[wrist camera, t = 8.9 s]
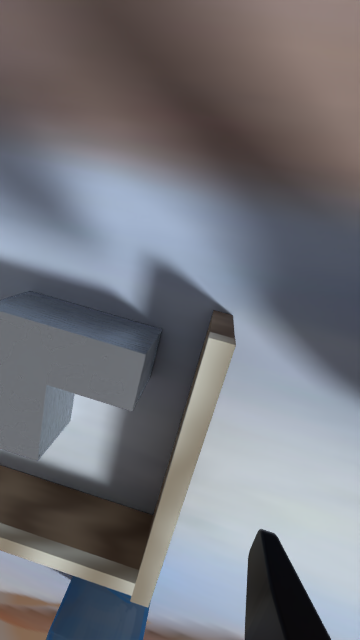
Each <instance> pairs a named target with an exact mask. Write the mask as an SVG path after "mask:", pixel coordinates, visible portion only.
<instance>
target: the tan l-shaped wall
mask: <svg viewBox="0 0 360 640" xmlns="http://www.w3.org/2000/svg"><path fill="white" fill-rule="evenodd" d="M235 346H236V342H235V335H234V322H233V315H229V314H226V313H222V312H219V311H215V310H213V314H212V317H211V320H210V324H209V327H208V331H207V334H206V337H205V341H204V344H203V348H202V351H201V354H200V358H199V361H198V365H197V368H196V371H195V375H194V378H193V381H192V385H191V388H190V392H189V395H188V398H187V402H186V405H185V409H184V412H183V415H182V419H181V422H180V426H179V429H178V432H177V436H176V439H175V443H174V446H173V449H172V453H171V456H170V460H169V463H168V466H167V470H166V473H165V477H164V480H163V483H162V487H161V490H160V493H159V497H158V500H157V504H156V507H155V510H154V514H153V515H151V514H148V513H144V512H141V511H138V510H135V509H132V508H129V507H126V506H123V505H120V504H117V503H114V502H111V501H108V500H105V499H102V498H99V497H96V496H93V495H90V494H86V493H83V492H80V491H77V490H74V489H71V488H68V487H65V486H62V485H59V484H56V483H53V482H50V481H47V480H44V479H41V478H38V477H35V476H32V475H28V474H25V473H22V472H19V471H16V470H13V469H10V468H7V467H4V466H1V465H0V550H1V551H4V552H7V553H10V554H12V555H15V556H18V557H21V558H24V559H27V560H30V561H33V562H36V563H38V564H41V565H44V566H47V567H50V568H53V569H56V570H59V571H61V572H64V573H67V574H70V575H73V576H76V577H79V578H82V579H84V580H87V581H90V582H93V583H96V584H99V585H102V586H105V587H107V588H110V589H113V590H116V591H119V592H122V593H125V594H128V595H130V596H131V600H130V602H133V603H136V604H139V605H142V606H145V607H147V608H148V607H149V604H150V601H151V598H152V595H153V592H154V589H155V586H156V583H157V580H158V577H159V574H160V571H161V568H162V565H163V562H164V559H165V556H166V553H167V550H168V547H169V544H170V541H171V538H172V535H173V532H174V529H175V526H176V523H177V520H178V517H179V514H180V511H181V508H182V505H183V502H184V499H185V496H186V493H187V490H188V487H189V484H190V481H191V478H192V475H193V472H194V469H195V466H196V463H197V460H198V457H199V454H200V451H201V448H202V445H203V442H204V439H205V436H206V433H207V430H208V427H209V424H210V421H211V418H212V415H213V412H214V409H215V406H216V403H217V400H218V397H219V394H220V391H221V388H222V385H223V382H224V379H225V376H226V373H227V370H228V367H229V364H230V361H231V358H232V355H233V352H234V349H235Z"/></svg>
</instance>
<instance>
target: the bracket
mask: <svg viewBox="0 0 360 640" xmlns="http://www.w3.org/2000/svg"><path fill="white" fill-rule="evenodd" d="M161 331H162V329H160V328H156V327H153V326H149V325H146V324H142V323H139V322H135V321H132V320H129V319H125V318H122V317H118V316H115V315H111V314H108V313H104V312H101V311H98V310H94V309H91V308H87V307H84V306H80V305H77V304H73V303H70V302H67V301H63V300H60V299H56V298H53V297H49V296H46V295H43V294H39V293H36V292H32V291H28V292H24V293H21V294H18V295H15V296H12V297H9V298H5V299H2V300H0V449H3V450H6V451H9V452H12V453H15V454H18V455H21V456H24V457H27V458H30V459H33V460H36V461H38V460H39V459H40V458H41V456H42V455H43V454H44V453H45V451H46V450H47V449H48V448H49V447H50V445H51V444H52V443H53V442H54V440H55V439H56V438H57V437H58V435H59V434H60V433H61V432H62V431H63V429H64V428H65V427H66V426H67V424H68V423H69V422H70V419H71V413H72V406H73V399H74V393H75V394H78V395H81V396H84V397H87V398H91V399H94V400H97V401H100V402H103V403H107V404H110V405H113V406H116V407H119V408H123V409H126V410H129V411H133V409H134V408H135V406H136V404H137V402H138V400H139V398H140V396H141V394H142V392H143V390H144V388H145V386H146V384H147V382H148V381H149V379H150V376H151V372H152V368H153V364H154V360H155V356H156V352H157V348H158V344H159V340H160V336H161Z"/></svg>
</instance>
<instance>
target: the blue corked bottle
mask: <svg viewBox="0 0 360 640" xmlns="http://www.w3.org/2000/svg"><path fill="white" fill-rule="evenodd" d="M130 600H131V596H130V595H128V594H125V593H122V592H119V591H116V590H113V589H110V588H107V587H105V586H102V585H99V584H96V583H93V582H90V581H87V580H84V579H82V578H79V577H76V576H73V577H72V580H71V582H70V584H69V587H68V589H67V591H66V593H65V596H64V598H63V600H62V602H61V605H60V607H59V609H58V612H57V614H56V616H55V618H54V621H53V623H52V625H51V627H50V630H49V632H48V635H47V638H46V640H143V636H144V631H145V626H146V621H147V616H148V611H149V607H148V608H147V607H145V606H142V605H139V604H136V603H133V602H130ZM150 602H151V601H150ZM149 606H150V604H149Z"/></svg>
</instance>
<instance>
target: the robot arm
mask: <svg viewBox="0 0 360 640" xmlns="http://www.w3.org/2000/svg"><path fill="white" fill-rule="evenodd" d="M245 640H331V638H330V636H329V634H328V633H327V631H326V629H325V627H324V625H323V623H322V621H321V619H320V617H319V615H318V613H317V612H316V610H315V608H314V606H313V604H312V602H311V600H310V598H309V596H308V594H307V592H306V590H305V589H304V587H303V585H302V583H301V581H300V579H299V577H298V575H297V573H296V571H295V569H294V567H293V566H292V564H291V562H290V560H289V558H288V556H287V554H286V552H285V550H284V548H283V546H282V545H281V543H280V541H279V539H278V537H277V536H276V535H275V534H274V533H272V532H269V531H266V530H263V529H260V530H259V531H258V532H257V535H256V537H255V539H254V542H253V544H252V546H251V549H250V552H249V557H248V573H247V595H246V617H245Z"/></svg>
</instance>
